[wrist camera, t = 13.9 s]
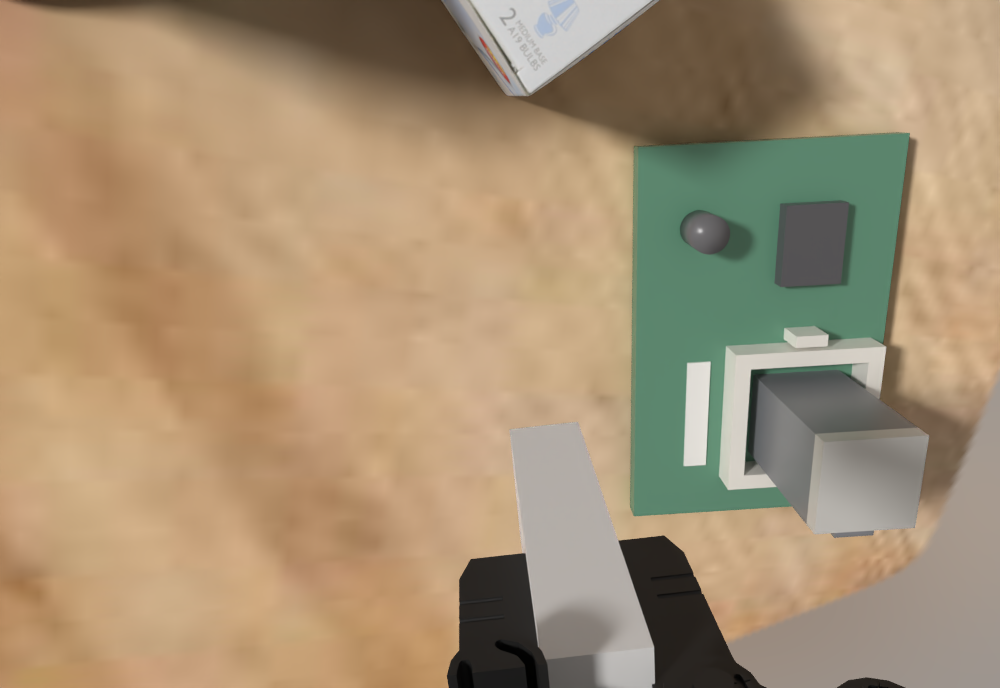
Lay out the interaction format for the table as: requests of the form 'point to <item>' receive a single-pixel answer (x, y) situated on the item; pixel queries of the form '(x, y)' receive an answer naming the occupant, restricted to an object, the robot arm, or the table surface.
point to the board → (750, 297)
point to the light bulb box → (539, 35)
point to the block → (837, 452)
